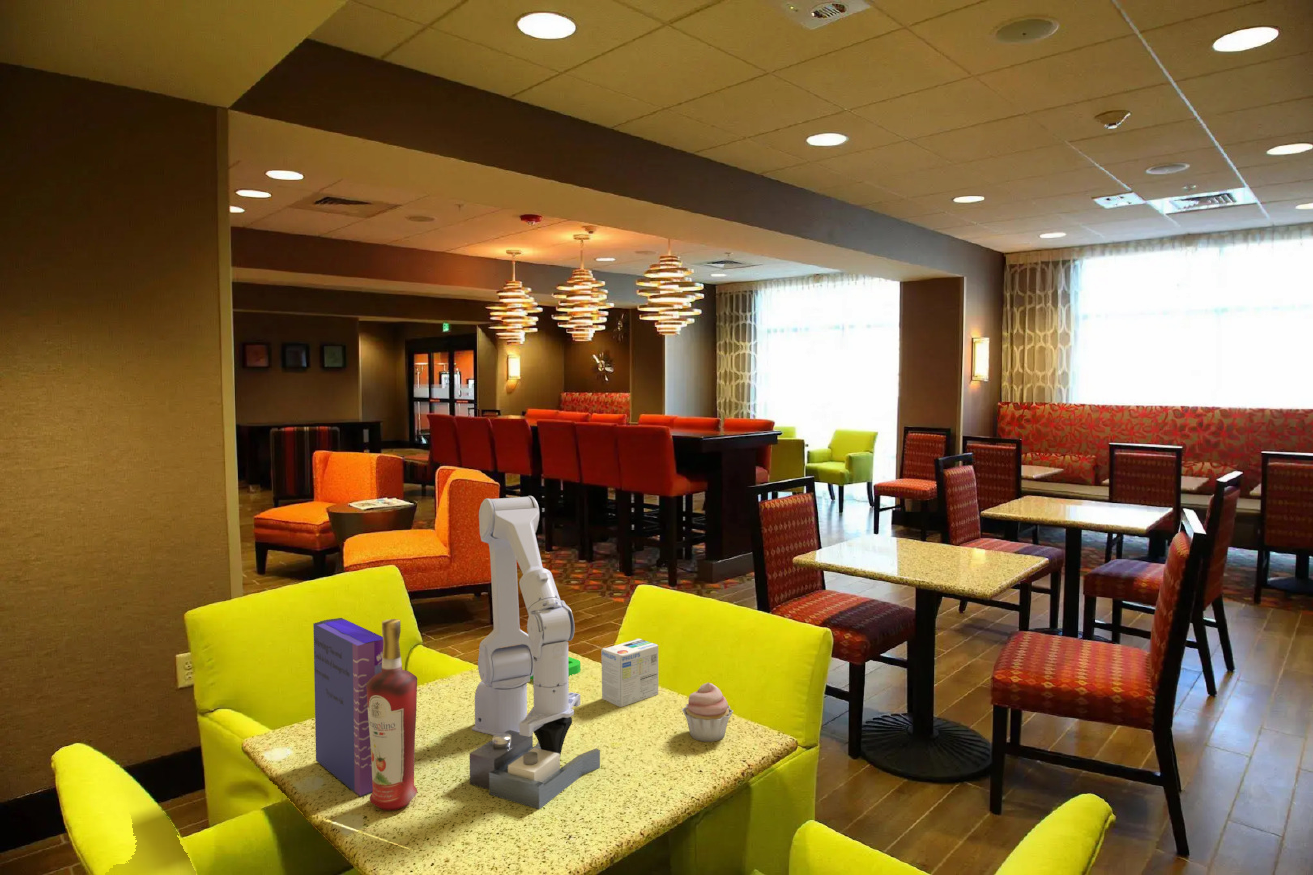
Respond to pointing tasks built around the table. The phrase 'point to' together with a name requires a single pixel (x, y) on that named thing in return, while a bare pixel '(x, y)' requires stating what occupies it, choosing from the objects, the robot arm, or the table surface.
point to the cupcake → (707, 714)
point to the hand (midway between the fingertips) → (551, 762)
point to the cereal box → (345, 699)
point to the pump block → (536, 765)
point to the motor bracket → (493, 775)
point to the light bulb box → (629, 672)
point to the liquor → (392, 725)
